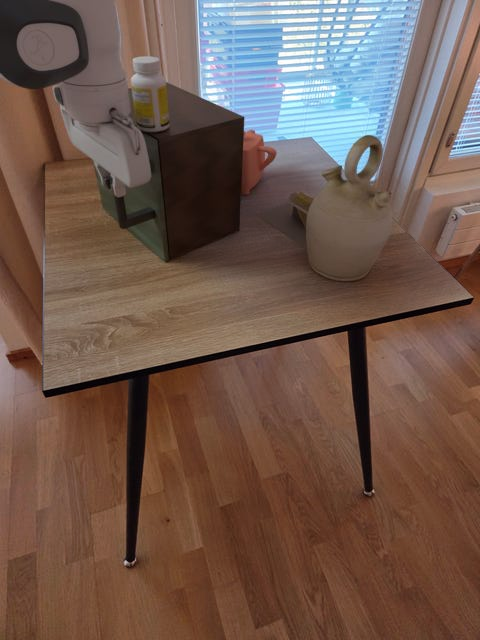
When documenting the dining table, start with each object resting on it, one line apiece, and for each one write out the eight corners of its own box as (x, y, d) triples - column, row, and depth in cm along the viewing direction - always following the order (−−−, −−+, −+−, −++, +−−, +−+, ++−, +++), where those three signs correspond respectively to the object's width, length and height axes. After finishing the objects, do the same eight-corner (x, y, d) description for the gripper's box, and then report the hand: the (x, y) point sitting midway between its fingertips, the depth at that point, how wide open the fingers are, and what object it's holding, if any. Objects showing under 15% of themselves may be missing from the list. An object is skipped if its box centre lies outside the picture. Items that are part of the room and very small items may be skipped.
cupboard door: (134, 275, 78) (112, 151, 62) (74, 218, 92) (44, 104, 75) (169, 260, 82) (157, 140, 66) (107, 207, 95) (84, 97, 79)
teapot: (250, 167, 114) (253, 116, 105) (279, 192, 104) (284, 139, 95) (193, 177, 109) (191, 124, 99) (218, 205, 99) (218, 149, 89)
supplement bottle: (164, 119, 72) (158, 54, 65) (173, 131, 68) (169, 62, 61) (133, 123, 70) (124, 55, 63) (141, 134, 67) (132, 65, 60)
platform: (309, 251, 86) (314, 223, 82) (255, 213, 96) (257, 187, 92) (348, 234, 92) (355, 207, 87) (294, 200, 102) (297, 174, 97)
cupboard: (170, 260, 82) (158, 138, 66) (108, 207, 96) (85, 96, 79) (239, 230, 91) (244, 116, 75) (173, 186, 104) (165, 81, 88)
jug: (287, 249, 87) (305, 123, 69) (351, 237, 91) (383, 116, 73) (322, 295, 76) (354, 161, 59) (392, 278, 81) (441, 150, 63)
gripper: (156, 116, 55) (165, 211, 65) (86, 79, 66) (102, 164, 75) (113, 126, 52) (129, 223, 61) (46, 85, 63) (69, 173, 72)
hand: (114, 190), depth 69 cm, fingers closed
